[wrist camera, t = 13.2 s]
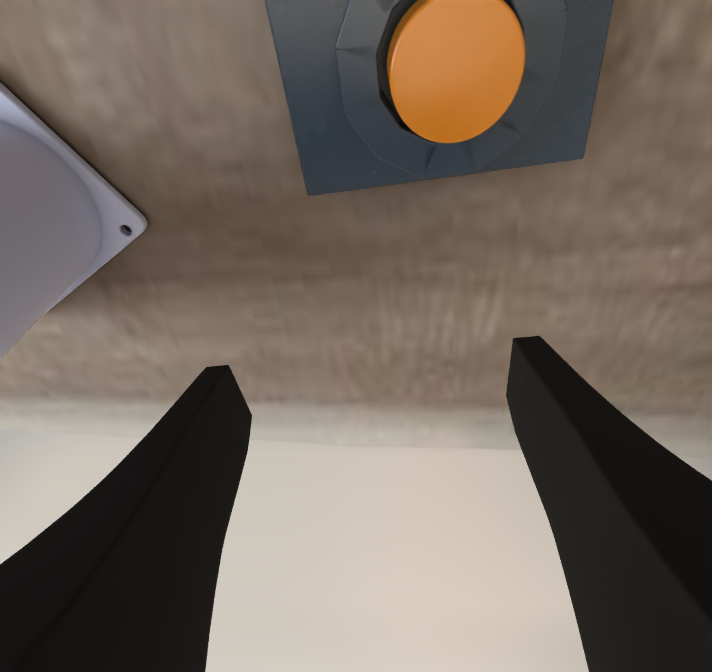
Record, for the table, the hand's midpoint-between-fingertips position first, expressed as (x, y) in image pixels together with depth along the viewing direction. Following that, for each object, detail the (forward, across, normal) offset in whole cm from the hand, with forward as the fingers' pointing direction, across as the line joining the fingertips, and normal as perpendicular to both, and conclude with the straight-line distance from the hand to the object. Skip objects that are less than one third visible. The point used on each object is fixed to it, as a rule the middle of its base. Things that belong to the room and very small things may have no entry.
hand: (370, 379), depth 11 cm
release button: (+7, -3, -6) cm, 10 cm away
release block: (+10, -3, -6) cm, 12 cm away
